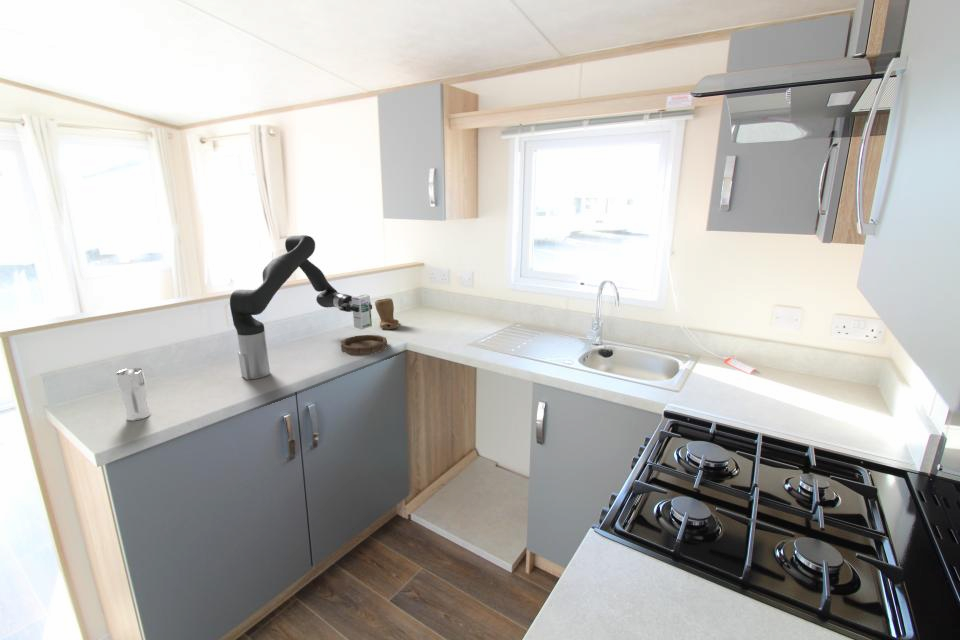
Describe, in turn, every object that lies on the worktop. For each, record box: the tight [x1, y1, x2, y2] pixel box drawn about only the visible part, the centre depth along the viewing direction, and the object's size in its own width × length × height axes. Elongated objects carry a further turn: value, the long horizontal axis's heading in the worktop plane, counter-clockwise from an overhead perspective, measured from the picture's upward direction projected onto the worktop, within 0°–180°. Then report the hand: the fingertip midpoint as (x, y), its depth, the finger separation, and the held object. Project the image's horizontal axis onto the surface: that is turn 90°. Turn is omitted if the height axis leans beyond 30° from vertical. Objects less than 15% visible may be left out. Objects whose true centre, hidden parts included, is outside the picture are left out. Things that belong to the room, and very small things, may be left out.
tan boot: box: [374, 297, 399, 330], centre depth 239 cm, size 15×12×15 cm
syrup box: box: [351, 294, 373, 330], centre depth 202 cm, size 6×6×14 cm
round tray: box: [340, 334, 388, 356], centre depth 206 cm, size 20×20×3 cm
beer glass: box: [115, 367, 152, 422], centre depth 140 cm, size 7×7×15 cm
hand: (364, 308), depth 200 cm, fingers closed on syrup box, 6 cm apart
